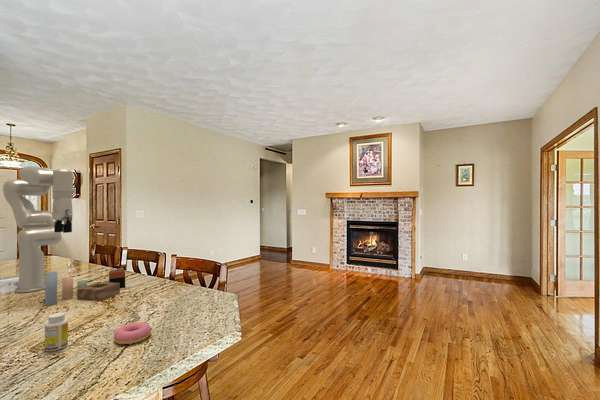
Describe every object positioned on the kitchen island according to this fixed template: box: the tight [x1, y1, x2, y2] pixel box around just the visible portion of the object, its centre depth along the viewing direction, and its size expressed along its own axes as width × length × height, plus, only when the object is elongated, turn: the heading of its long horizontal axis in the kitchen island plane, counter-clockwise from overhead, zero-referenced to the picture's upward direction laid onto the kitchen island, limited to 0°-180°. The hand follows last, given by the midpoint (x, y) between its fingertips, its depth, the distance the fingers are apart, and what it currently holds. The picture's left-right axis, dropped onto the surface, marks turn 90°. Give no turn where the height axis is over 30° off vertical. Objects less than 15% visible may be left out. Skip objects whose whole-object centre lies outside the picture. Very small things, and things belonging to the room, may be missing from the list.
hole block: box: [76, 281, 121, 302], centre depth 141 cm, size 12×12×5 cm
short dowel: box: [76, 279, 88, 290], centre depth 145 cm, size 4×4×6 cm
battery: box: [108, 267, 126, 289], centre depth 155 cm, size 4×7×10 cm, turn 133°
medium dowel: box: [61, 277, 74, 301], centre depth 137 cm, size 4×4×9 cm
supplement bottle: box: [44, 312, 69, 352], centre depth 91 cm, size 6×6×10 cm
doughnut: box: [113, 321, 152, 346], centre depth 97 cm, size 11×11×4 cm
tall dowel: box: [44, 271, 58, 307], centre depth 129 cm, size 4×4×14 cm
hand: (63, 232), depth 137 cm, fingers open, 9 cm apart
